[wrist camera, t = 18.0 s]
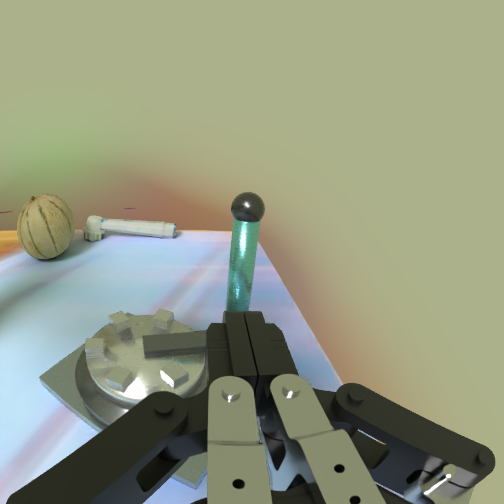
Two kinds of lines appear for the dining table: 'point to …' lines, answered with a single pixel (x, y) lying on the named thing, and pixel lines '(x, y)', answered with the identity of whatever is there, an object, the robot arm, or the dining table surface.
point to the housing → (105, 405)
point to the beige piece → (126, 228)
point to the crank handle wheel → (170, 330)
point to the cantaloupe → (45, 226)
